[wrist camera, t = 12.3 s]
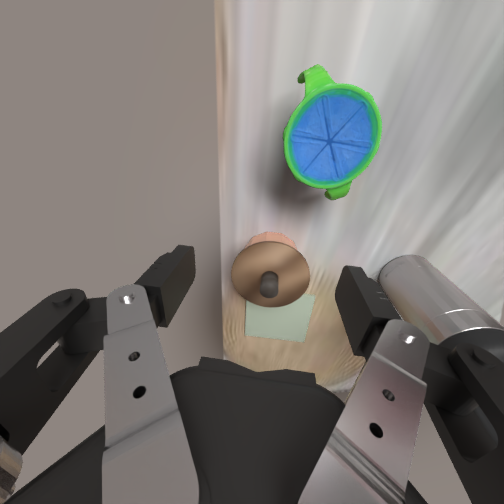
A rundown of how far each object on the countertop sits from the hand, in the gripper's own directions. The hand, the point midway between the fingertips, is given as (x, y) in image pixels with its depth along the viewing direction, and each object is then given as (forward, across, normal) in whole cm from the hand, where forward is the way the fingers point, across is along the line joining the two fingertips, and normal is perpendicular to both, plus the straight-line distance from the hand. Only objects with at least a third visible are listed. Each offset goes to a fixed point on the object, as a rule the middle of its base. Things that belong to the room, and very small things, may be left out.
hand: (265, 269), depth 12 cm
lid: (+22, -1, +16) cm, 27 cm away
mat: (+28, -5, +32) cm, 43 cm away
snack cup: (+28, -6, -6) cm, 30 cm away
